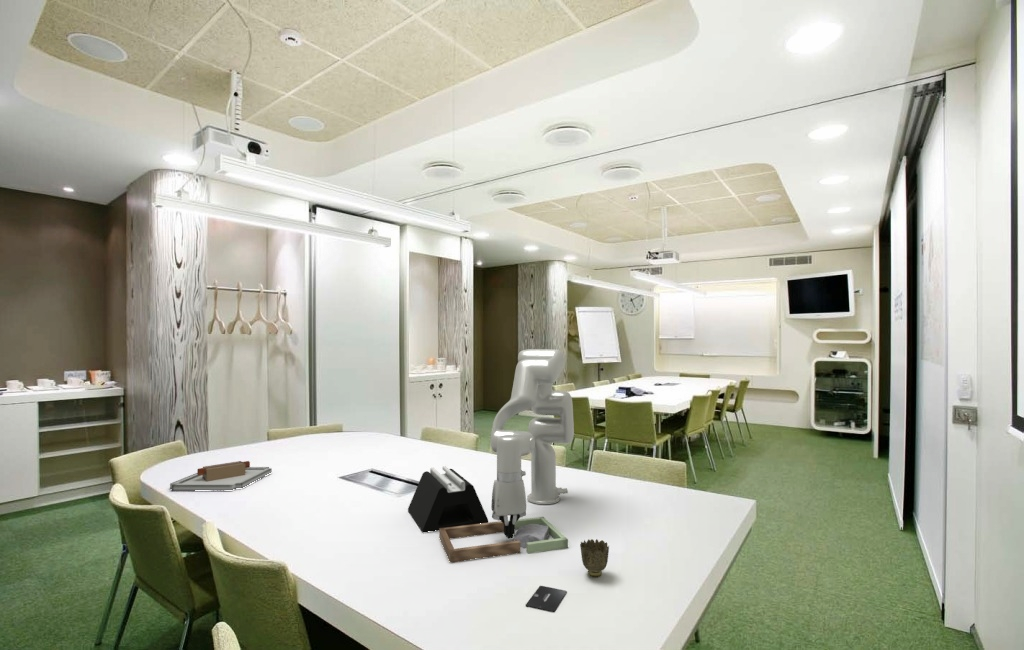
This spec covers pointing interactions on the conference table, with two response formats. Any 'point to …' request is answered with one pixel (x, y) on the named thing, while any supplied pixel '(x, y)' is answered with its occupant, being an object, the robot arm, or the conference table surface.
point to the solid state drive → (546, 599)
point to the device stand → (445, 501)
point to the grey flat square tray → (221, 477)
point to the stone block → (531, 534)
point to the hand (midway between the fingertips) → (509, 536)
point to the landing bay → (544, 545)
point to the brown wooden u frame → (476, 551)
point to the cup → (594, 556)
